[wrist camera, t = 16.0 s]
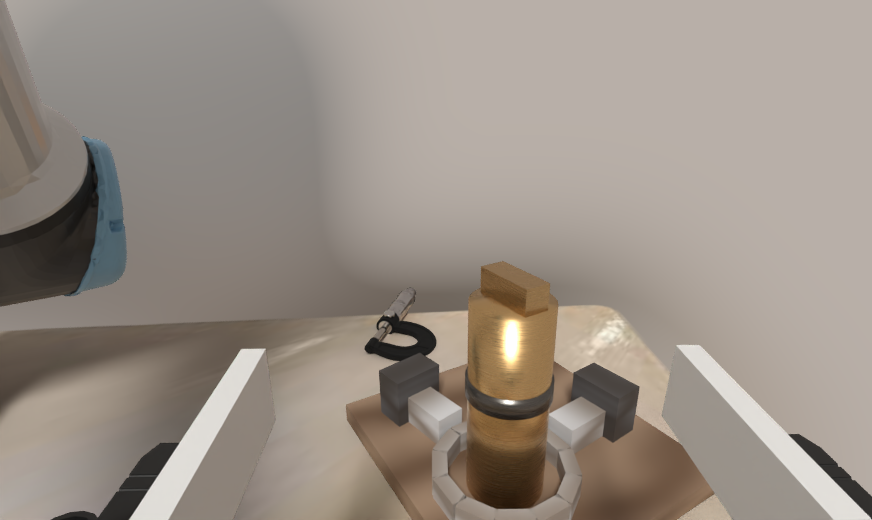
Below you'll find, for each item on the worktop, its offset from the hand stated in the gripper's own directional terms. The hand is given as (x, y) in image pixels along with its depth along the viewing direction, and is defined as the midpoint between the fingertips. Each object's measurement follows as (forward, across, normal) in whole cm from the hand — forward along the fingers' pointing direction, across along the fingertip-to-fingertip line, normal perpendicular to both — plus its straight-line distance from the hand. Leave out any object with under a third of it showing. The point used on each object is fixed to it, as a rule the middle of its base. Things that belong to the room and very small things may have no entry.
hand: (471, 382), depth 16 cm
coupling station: (+16, +5, -17) cm, 24 cm away
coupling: (+12, +4, -16) cm, 20 cm away
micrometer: (+36, -3, -18) cm, 41 cm away
